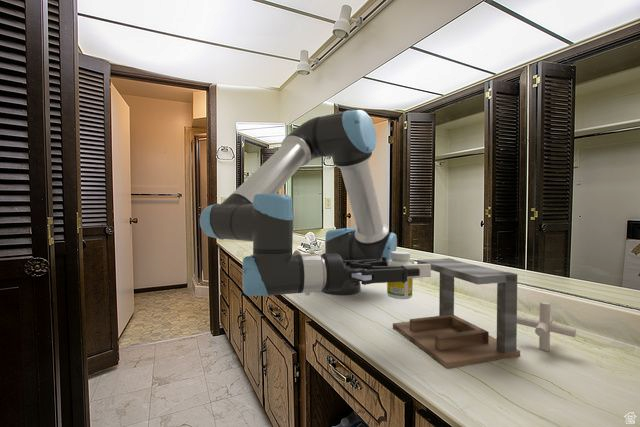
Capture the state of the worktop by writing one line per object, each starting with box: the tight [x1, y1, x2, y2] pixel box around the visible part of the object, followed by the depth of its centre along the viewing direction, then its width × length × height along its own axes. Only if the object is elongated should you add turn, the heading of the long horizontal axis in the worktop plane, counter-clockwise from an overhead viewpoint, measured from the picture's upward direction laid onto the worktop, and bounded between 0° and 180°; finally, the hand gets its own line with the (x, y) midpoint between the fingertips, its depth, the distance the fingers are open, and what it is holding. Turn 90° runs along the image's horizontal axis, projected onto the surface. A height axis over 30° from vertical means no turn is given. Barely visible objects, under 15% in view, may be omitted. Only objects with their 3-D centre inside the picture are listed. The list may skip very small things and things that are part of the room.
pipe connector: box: [517, 301, 577, 352], centre depth 63 cm, size 10×10×10 cm
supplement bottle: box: [386, 250, 414, 300], centre depth 63 cm, size 5×5×10 cm
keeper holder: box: [392, 257, 521, 369], centre depth 67 cm, size 20×18×17 cm
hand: (420, 267), depth 65 cm, fingers closed on supplement bottle, 5 cm apart
